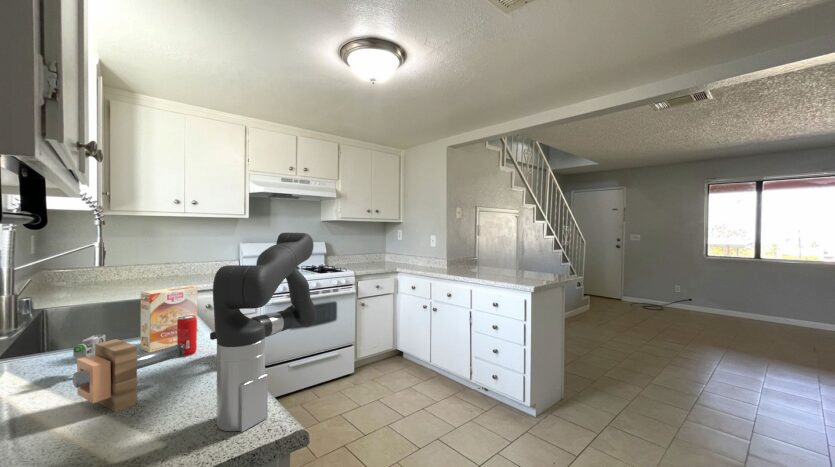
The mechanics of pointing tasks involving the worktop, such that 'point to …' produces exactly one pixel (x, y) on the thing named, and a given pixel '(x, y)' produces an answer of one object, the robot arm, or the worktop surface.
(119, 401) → the bearing block
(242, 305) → the robot arm
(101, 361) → the orange block with hole
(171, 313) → the coffeecake box
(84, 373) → the shaft
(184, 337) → the beverage can
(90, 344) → the mechanical component
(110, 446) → the worktop surface
